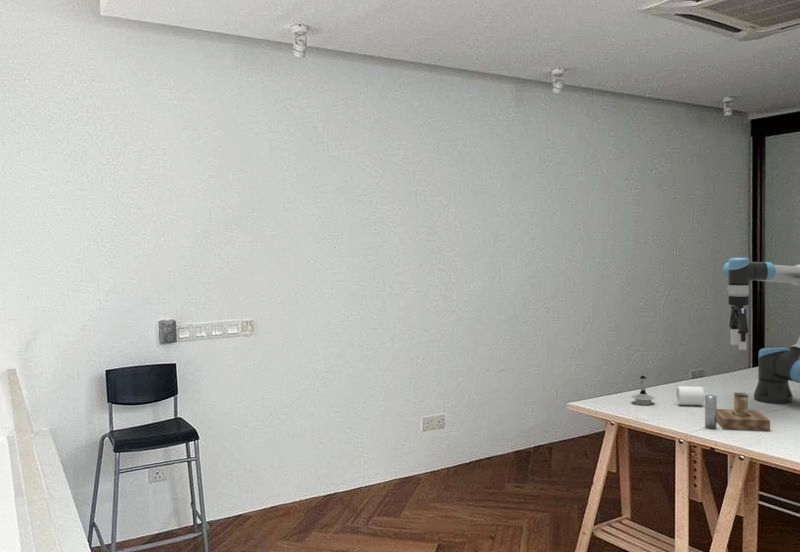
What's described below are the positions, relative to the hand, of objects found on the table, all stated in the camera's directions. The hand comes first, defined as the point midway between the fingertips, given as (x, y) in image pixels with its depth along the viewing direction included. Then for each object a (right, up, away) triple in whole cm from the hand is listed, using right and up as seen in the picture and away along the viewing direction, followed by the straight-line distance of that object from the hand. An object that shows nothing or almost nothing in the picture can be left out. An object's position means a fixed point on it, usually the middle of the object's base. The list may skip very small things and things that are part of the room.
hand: (738, 347), depth 286 cm
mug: (-13, -27, +17) cm, 34 cm away
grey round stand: (-32, -27, +19) cm, 46 cm away
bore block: (-8, -28, -19) cm, 35 cm away
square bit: (-8, -28, -19) cm, 35 cm away
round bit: (-21, -28, -23) cm, 42 cm away
